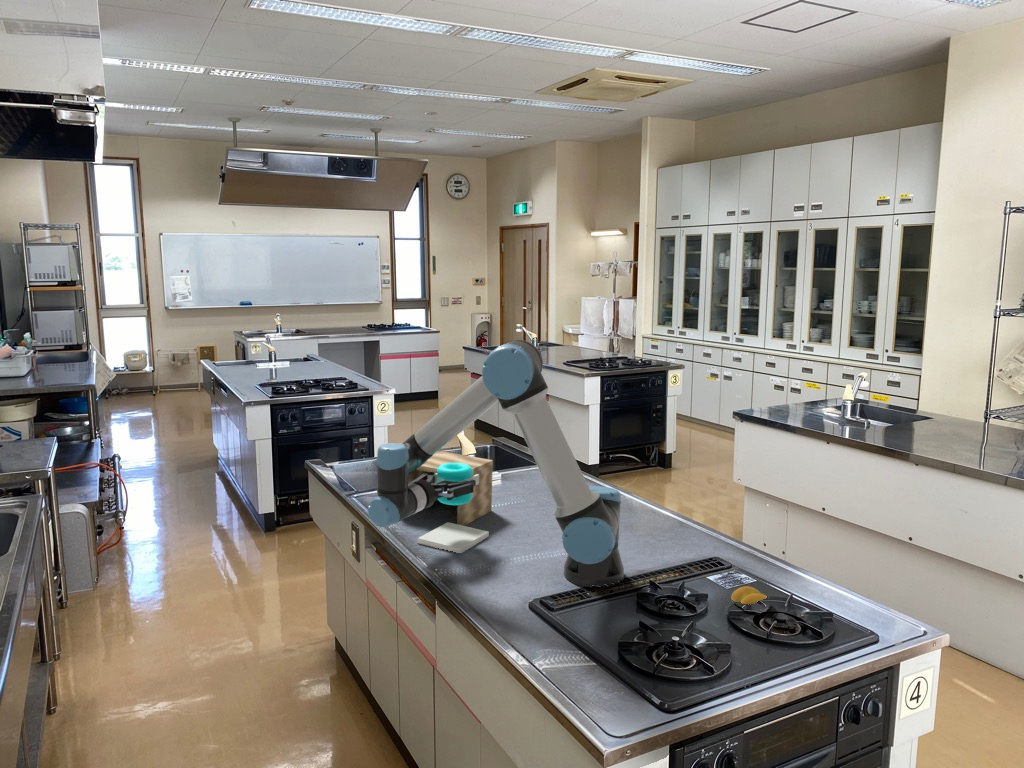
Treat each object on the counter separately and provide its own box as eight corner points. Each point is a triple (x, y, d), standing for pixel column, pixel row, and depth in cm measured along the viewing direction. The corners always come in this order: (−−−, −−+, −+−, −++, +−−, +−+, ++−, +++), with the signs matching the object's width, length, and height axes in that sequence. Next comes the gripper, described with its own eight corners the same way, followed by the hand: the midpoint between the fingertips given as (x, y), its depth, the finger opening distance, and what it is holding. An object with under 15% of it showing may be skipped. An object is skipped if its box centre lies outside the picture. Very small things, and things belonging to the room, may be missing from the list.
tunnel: (461, 527, 219) (462, 473, 216) (394, 511, 231) (394, 460, 228) (491, 510, 234) (492, 460, 231) (426, 496, 246) (427, 448, 243)
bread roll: (750, 617, 168) (751, 601, 168) (725, 600, 177) (726, 584, 176) (779, 612, 171) (780, 596, 171) (753, 595, 180) (755, 580, 179)
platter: (460, 554, 199) (460, 548, 199) (417, 543, 206) (417, 538, 206) (488, 536, 212) (488, 531, 212) (447, 527, 219) (447, 522, 219)
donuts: (479, 464, 208) (462, 473, 199) (478, 498, 210) (462, 508, 201) (447, 459, 212) (430, 468, 203) (447, 493, 214) (430, 503, 205)
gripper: (382, 503, 197) (431, 482, 216) (451, 519, 186) (496, 495, 206) (382, 476, 195) (431, 457, 215) (451, 490, 185) (496, 469, 204)
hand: (463, 476), depth 210 cm, fingers closed on donuts, 9 cm apart
